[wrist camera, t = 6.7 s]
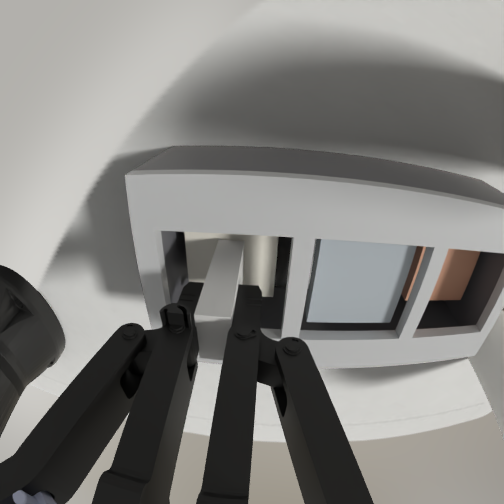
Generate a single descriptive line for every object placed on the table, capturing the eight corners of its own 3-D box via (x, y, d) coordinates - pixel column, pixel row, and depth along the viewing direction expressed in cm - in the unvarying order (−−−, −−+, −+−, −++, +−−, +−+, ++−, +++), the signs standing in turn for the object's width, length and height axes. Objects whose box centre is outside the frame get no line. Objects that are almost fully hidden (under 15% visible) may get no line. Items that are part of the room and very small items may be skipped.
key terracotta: (390, 273, 22) (404, 300, 19) (407, 209, 19) (428, 230, 16) (442, 275, 22) (460, 299, 19) (462, 217, 19) (485, 237, 16)
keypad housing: (184, 290, 25) (159, 356, 18) (173, 146, 19) (124, 175, 12) (441, 299, 24) (474, 355, 17) (481, 180, 18) (540, 218, 12)
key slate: (302, 287, 20) (306, 322, 17) (312, 212, 18) (321, 239, 14) (376, 290, 20) (390, 322, 17) (394, 219, 17) (416, 245, 14)
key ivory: (200, 263, 22) (189, 291, 19) (196, 194, 20) (183, 214, 17) (273, 268, 22) (273, 297, 19) (278, 197, 20) (279, 218, 16)
